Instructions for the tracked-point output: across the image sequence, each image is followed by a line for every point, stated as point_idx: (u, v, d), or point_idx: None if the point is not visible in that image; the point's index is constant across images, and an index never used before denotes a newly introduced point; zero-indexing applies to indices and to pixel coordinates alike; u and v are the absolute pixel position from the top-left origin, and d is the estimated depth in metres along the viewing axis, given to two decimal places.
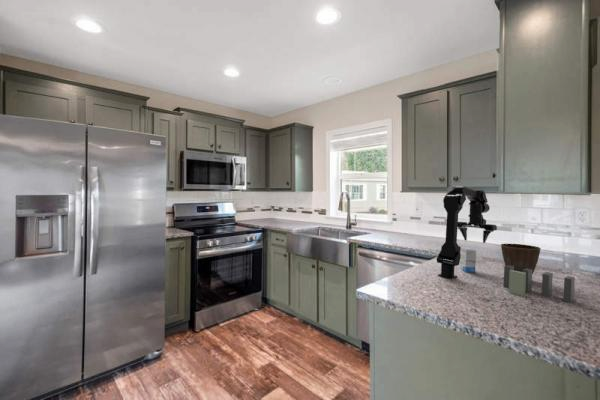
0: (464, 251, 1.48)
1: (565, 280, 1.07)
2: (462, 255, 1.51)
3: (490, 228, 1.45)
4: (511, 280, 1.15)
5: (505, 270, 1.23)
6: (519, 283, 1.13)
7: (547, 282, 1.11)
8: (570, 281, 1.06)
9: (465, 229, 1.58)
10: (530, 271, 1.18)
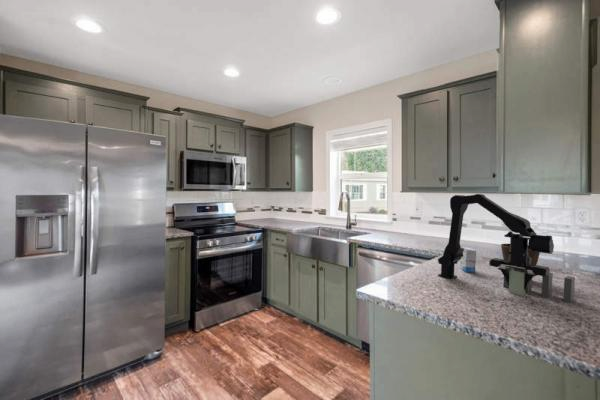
0: (464, 251, 1.48)
1: (565, 280, 1.07)
2: None
3: (541, 273, 1.06)
4: (511, 280, 1.15)
5: None
6: (519, 283, 1.13)
7: (547, 282, 1.11)
8: (570, 281, 1.06)
9: (508, 270, 1.17)
10: None
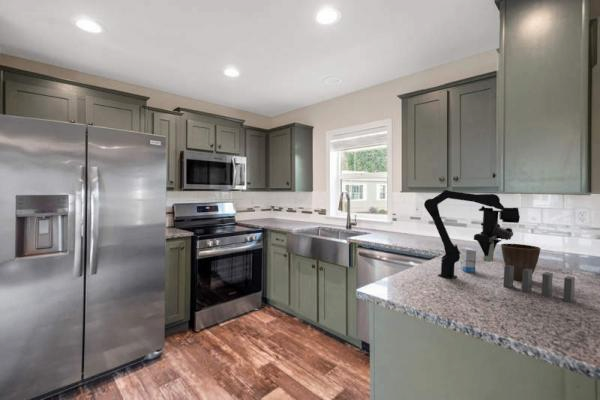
0: (464, 251, 1.48)
1: (565, 280, 1.07)
2: (462, 255, 1.51)
3: None
4: None
5: (505, 270, 1.22)
6: None
7: (547, 282, 1.11)
8: (570, 281, 1.06)
9: None
10: (530, 271, 1.18)
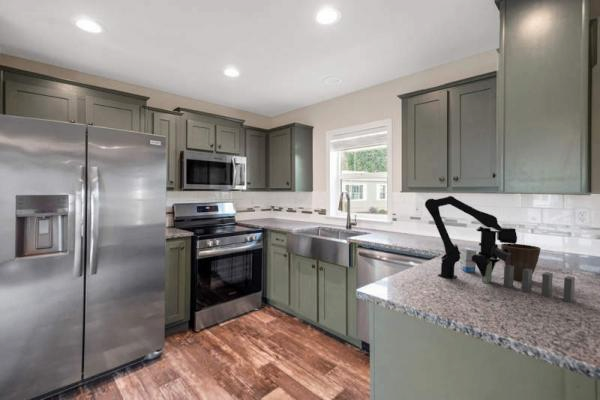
0: (464, 251, 1.48)
1: (565, 280, 1.07)
2: (462, 255, 1.51)
3: None
4: None
5: (505, 270, 1.22)
6: None
7: (547, 282, 1.11)
8: (570, 281, 1.06)
9: (491, 261, 1.33)
10: (530, 271, 1.18)
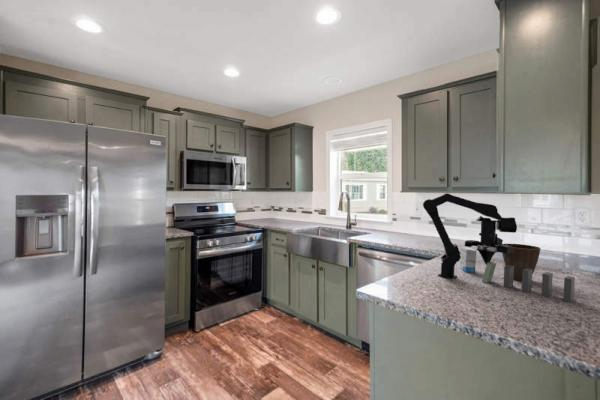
0: (464, 251, 1.48)
1: (565, 280, 1.07)
2: (462, 255, 1.51)
3: (503, 251, 1.22)
4: None
5: (505, 270, 1.23)
6: None
7: (547, 282, 1.11)
8: (570, 281, 1.06)
9: (486, 251, 1.32)
10: (530, 271, 1.18)
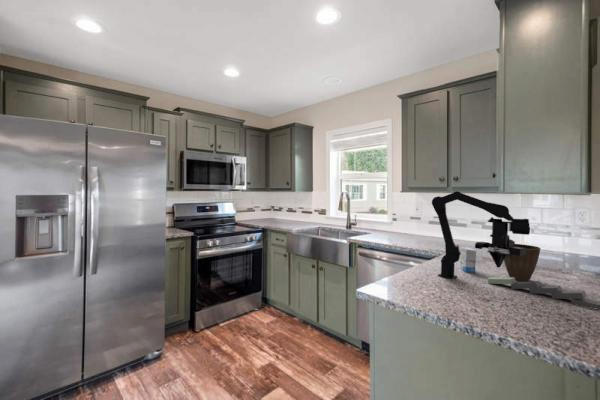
0: (464, 251, 1.48)
1: None
2: (462, 255, 1.51)
3: (516, 253, 1.18)
4: (504, 277, 1.27)
5: (531, 284, 1.15)
6: (500, 278, 1.25)
7: (572, 297, 1.05)
8: None
9: (497, 253, 1.27)
10: None
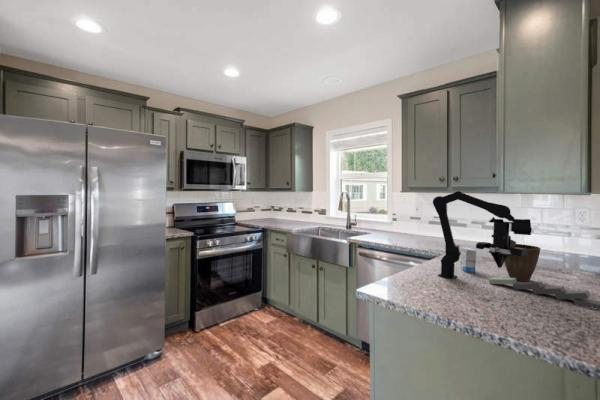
0: (464, 251, 1.48)
1: None
2: (462, 255, 1.51)
3: (517, 254, 1.18)
4: (505, 278, 1.26)
5: (534, 285, 1.15)
6: (501, 279, 1.25)
7: (576, 297, 1.05)
8: None
9: None
10: None
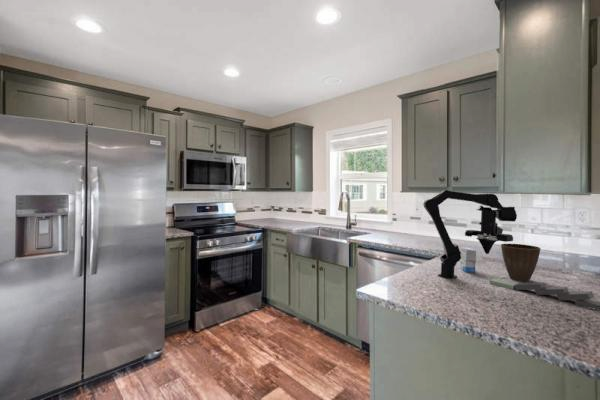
0: (464, 251, 1.48)
1: None
2: (462, 255, 1.51)
3: (503, 239, 1.23)
4: (506, 281, 1.26)
5: (535, 285, 1.14)
6: (503, 282, 1.24)
7: (578, 298, 1.03)
8: None
9: (486, 240, 1.33)
10: None
